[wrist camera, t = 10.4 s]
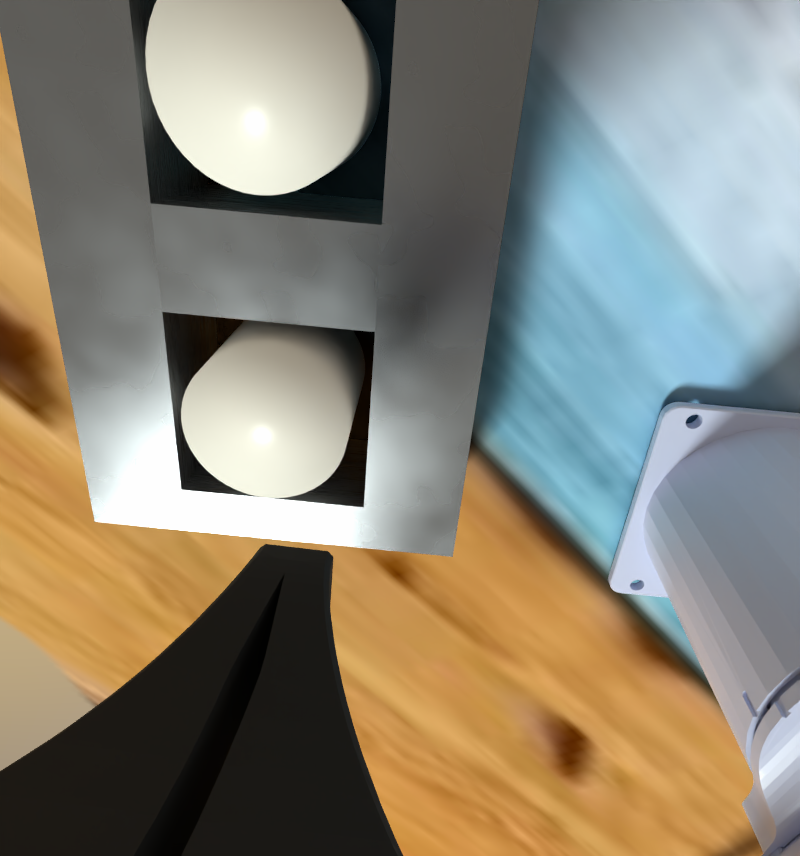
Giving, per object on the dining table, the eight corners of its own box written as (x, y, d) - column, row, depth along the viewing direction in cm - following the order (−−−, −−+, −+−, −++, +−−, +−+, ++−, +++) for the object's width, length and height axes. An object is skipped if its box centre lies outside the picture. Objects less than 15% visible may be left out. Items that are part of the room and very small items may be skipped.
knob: (368, 305, 19) (351, 358, 15) (361, 430, 21) (344, 505, 17) (228, 292, 19) (173, 341, 15) (235, 417, 21) (188, 490, 17)
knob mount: (616, -686, 11) (706, -1084, 7) (449, 484, 22) (452, 556, 18) (-9, -737, 11) (-229, -1154, 7) (149, 455, 22) (94, 521, 19)
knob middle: (387, -7, 15) (370, -48, 11) (376, 181, 17) (358, 204, 13) (212, -23, 15) (132, -69, 11) (222, 167, 17) (157, 185, 13)
